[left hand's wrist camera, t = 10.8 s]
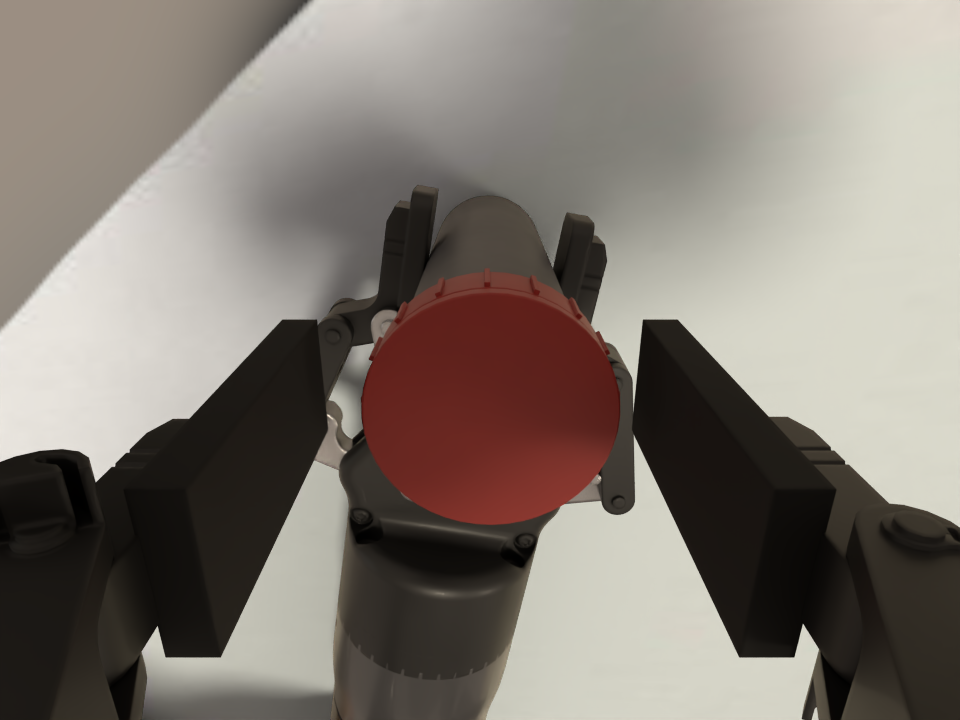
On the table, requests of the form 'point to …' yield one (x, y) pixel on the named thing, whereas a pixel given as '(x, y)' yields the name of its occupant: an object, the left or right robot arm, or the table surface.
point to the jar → (488, 244)
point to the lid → (490, 399)
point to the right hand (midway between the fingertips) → (502, 206)
